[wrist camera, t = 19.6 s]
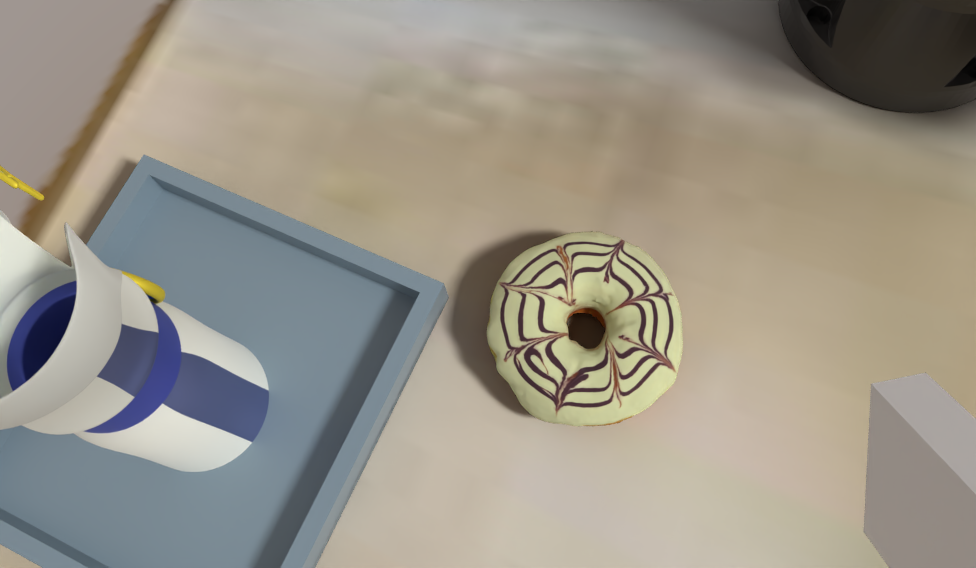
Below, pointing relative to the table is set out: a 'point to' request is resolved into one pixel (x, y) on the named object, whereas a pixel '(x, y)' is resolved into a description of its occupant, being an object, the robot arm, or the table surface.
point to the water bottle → (118, 360)
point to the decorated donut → (563, 362)
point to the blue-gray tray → (290, 375)
